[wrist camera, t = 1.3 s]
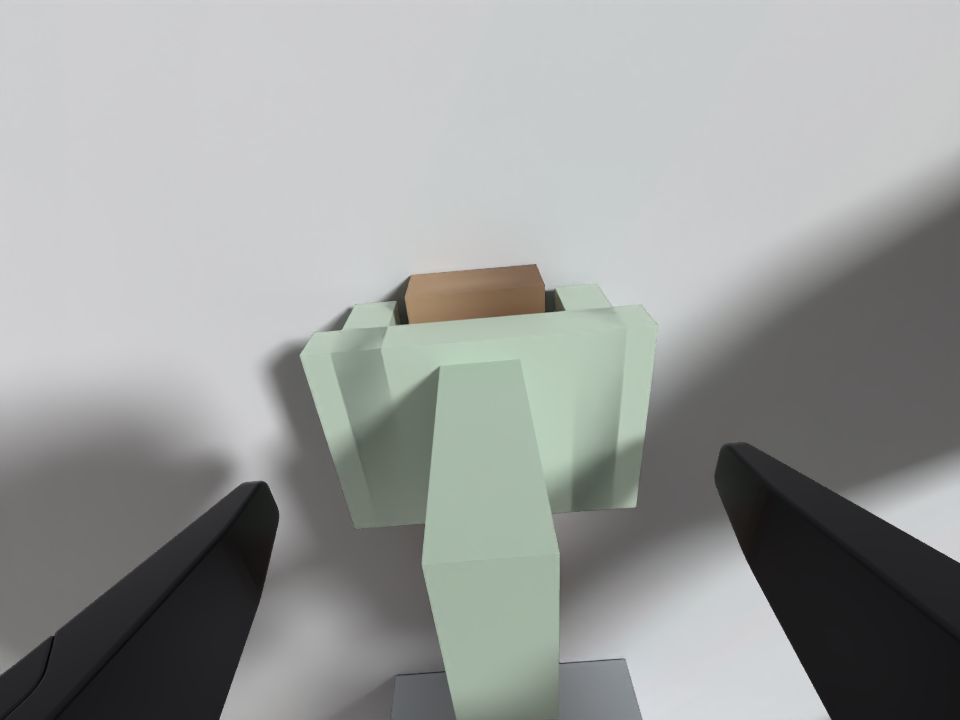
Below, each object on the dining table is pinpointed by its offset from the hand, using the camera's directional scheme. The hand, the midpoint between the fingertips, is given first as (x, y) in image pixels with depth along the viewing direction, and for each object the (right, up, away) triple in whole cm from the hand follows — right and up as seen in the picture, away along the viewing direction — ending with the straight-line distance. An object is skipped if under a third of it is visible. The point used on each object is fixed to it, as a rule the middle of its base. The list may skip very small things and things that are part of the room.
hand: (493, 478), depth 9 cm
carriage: (0, +2, +3) cm, 4 cm away
